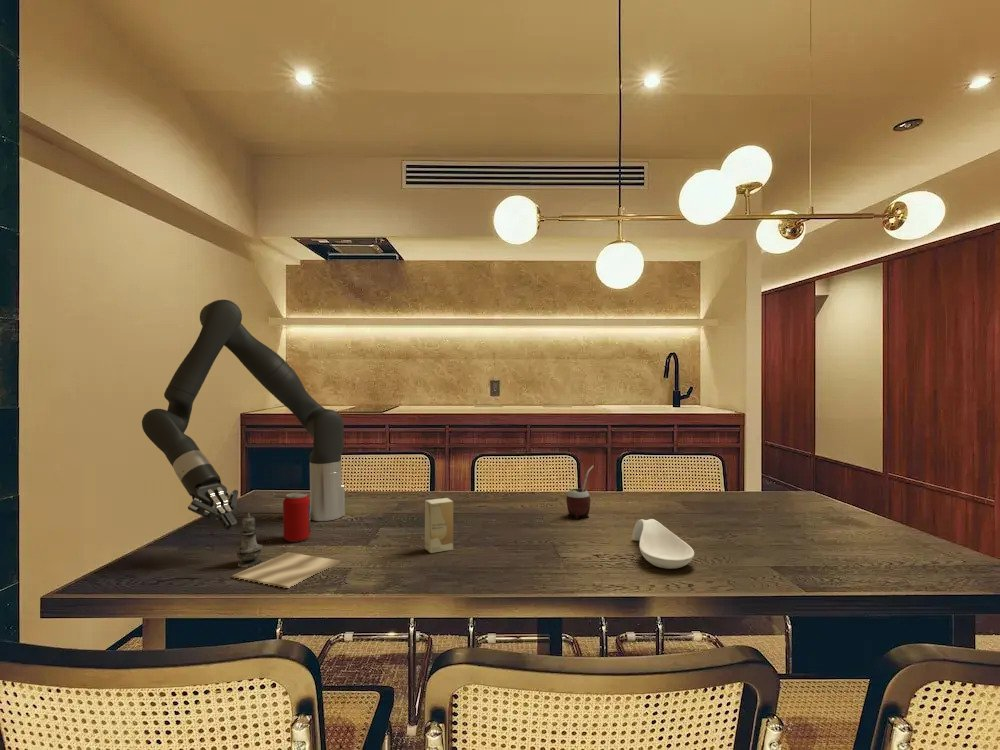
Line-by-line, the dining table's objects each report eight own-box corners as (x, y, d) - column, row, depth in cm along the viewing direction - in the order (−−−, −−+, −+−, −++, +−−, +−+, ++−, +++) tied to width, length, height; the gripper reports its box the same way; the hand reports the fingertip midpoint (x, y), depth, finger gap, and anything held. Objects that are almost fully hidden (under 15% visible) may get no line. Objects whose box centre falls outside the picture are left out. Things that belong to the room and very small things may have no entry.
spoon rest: (704, 573, 116) (703, 540, 116) (651, 576, 115) (650, 543, 115) (661, 539, 140) (660, 512, 140) (617, 541, 139) (616, 514, 139)
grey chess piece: (252, 568, 123) (251, 516, 123) (229, 567, 124) (228, 515, 124) (268, 559, 129) (267, 509, 129) (246, 558, 130) (245, 508, 130)
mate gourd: (564, 519, 160) (563, 468, 160) (570, 512, 167) (570, 464, 167) (588, 521, 157) (588, 469, 157) (594, 514, 164) (594, 465, 164)
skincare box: (430, 554, 131) (429, 503, 131) (424, 548, 135) (423, 500, 135) (454, 549, 134) (453, 500, 134) (448, 544, 138) (447, 497, 138)
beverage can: (316, 536, 146) (315, 492, 146) (299, 544, 140) (298, 498, 140) (295, 534, 149) (294, 491, 148) (278, 542, 142) (277, 496, 142)
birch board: (232, 578, 118) (232, 575, 117) (288, 554, 132) (288, 552, 132) (287, 589, 111) (287, 586, 111) (340, 563, 126) (340, 560, 126)
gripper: (177, 467, 126) (215, 525, 121) (226, 458, 138) (263, 510, 133) (163, 488, 128) (199, 546, 124) (213, 478, 141) (248, 529, 136)
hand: (232, 527), depth 129 cm, fingers closed
